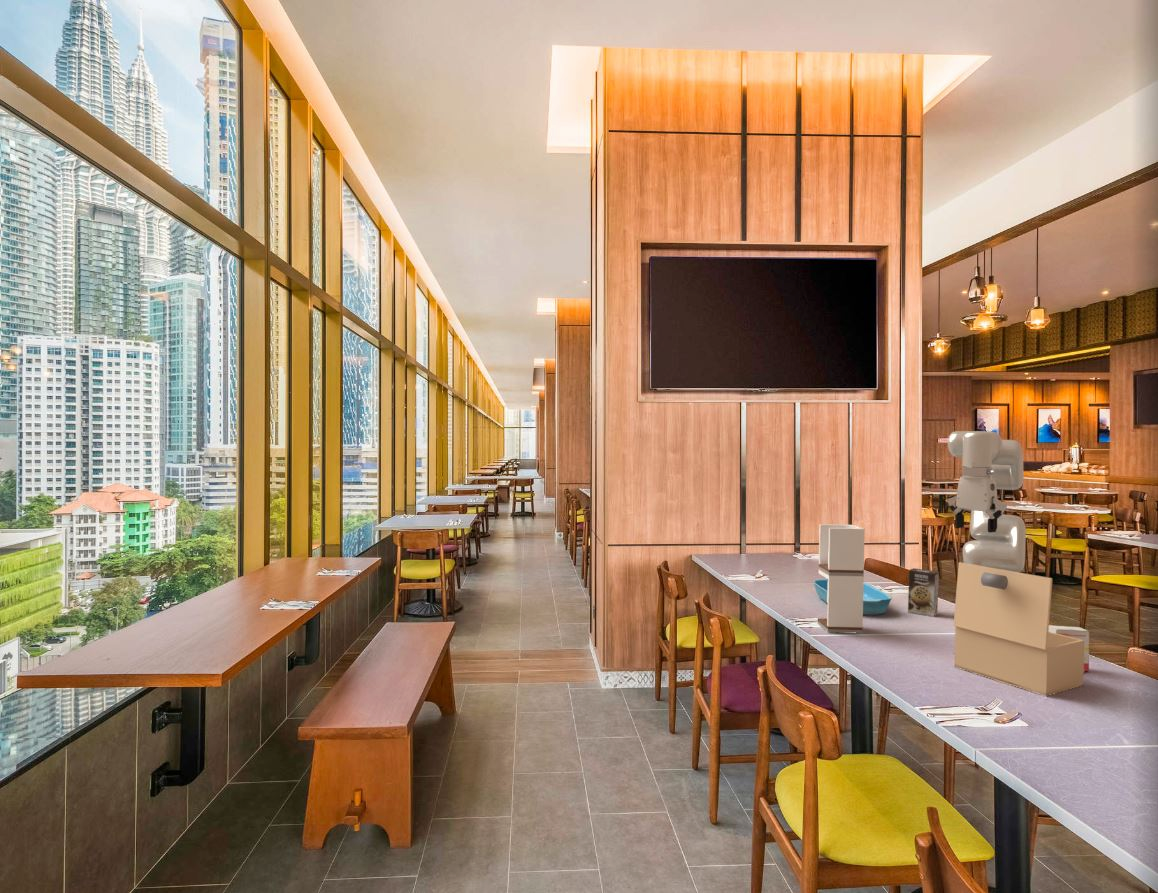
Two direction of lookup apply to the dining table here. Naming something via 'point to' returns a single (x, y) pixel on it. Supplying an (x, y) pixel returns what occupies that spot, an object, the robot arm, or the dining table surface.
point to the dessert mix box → (923, 592)
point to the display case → (842, 576)
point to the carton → (1022, 661)
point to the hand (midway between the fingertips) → (975, 529)
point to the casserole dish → (872, 597)
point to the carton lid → (1003, 604)
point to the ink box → (1078, 634)
